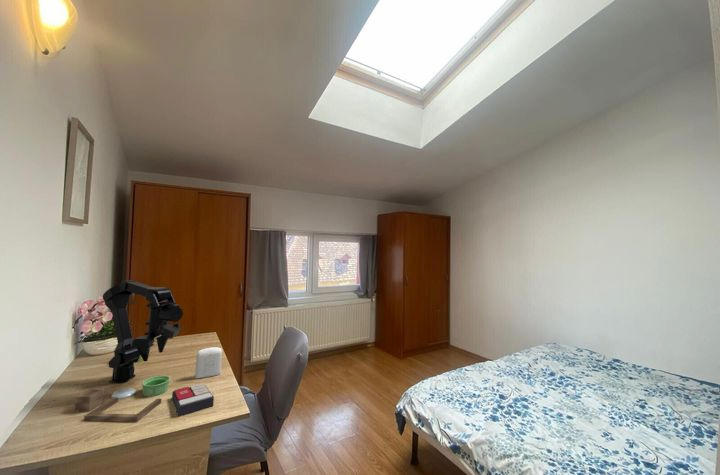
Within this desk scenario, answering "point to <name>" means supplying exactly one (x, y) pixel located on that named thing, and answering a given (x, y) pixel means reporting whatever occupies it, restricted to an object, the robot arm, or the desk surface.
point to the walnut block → (89, 400)
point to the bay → (99, 416)
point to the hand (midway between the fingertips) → (153, 356)
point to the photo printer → (208, 362)
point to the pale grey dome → (123, 393)
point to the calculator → (192, 399)
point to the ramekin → (155, 385)
